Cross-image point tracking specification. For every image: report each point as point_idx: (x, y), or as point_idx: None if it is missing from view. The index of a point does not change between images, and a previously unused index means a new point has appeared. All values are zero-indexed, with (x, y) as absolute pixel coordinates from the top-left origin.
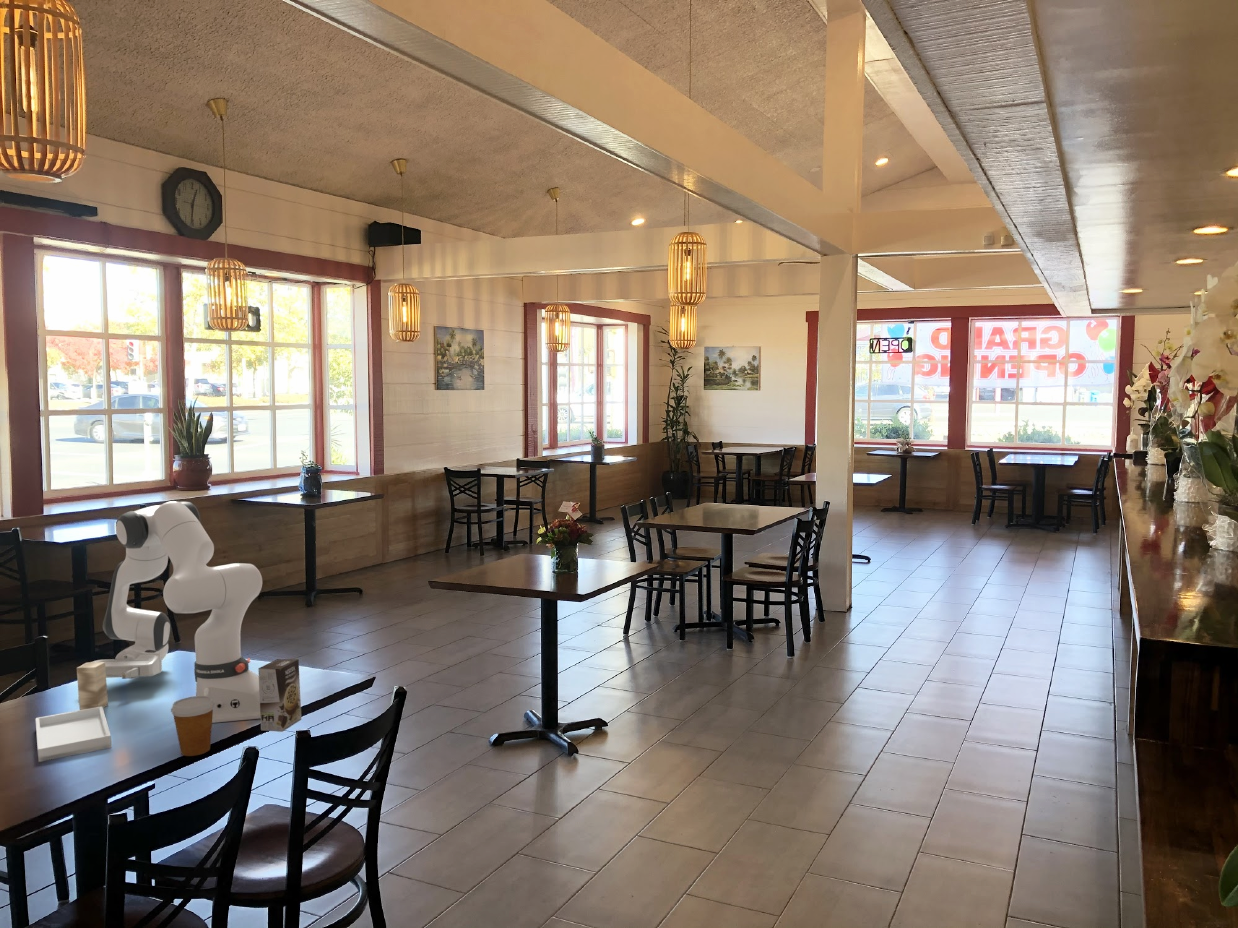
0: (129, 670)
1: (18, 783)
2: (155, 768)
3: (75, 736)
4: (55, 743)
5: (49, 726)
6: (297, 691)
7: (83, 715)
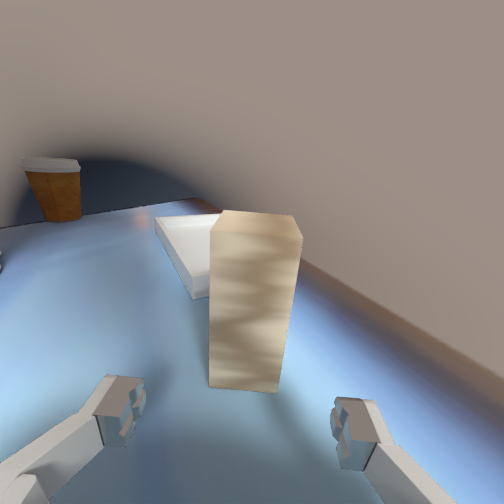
0: (78, 427)
1: (221, 213)
2: (113, 210)
3: (206, 241)
4: None
5: None
6: None
7: None
